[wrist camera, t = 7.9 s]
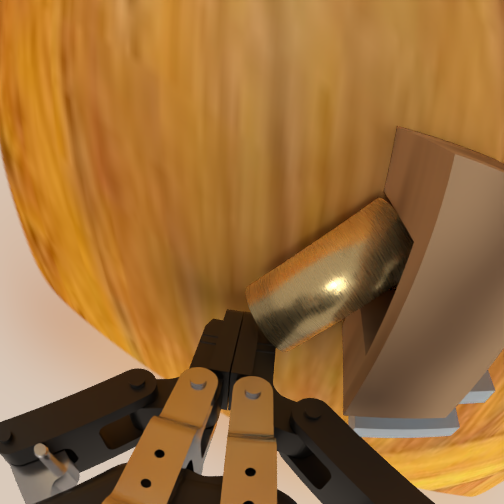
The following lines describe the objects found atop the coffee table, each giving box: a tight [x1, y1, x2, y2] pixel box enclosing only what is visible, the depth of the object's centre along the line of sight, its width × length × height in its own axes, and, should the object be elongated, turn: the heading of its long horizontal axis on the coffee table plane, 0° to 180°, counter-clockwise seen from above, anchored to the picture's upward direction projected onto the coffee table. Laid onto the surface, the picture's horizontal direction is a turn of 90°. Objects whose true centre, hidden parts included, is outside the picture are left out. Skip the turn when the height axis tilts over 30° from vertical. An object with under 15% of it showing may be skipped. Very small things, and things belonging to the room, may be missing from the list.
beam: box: [342, 126, 504, 419], centre depth 10 cm, size 5×10×5 cm, turn 175°
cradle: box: [349, 370, 495, 438], centre depth 15 cm, size 8×5×3 cm
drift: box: [246, 197, 414, 352], centre depth 11 cm, size 6×3×3 cm
